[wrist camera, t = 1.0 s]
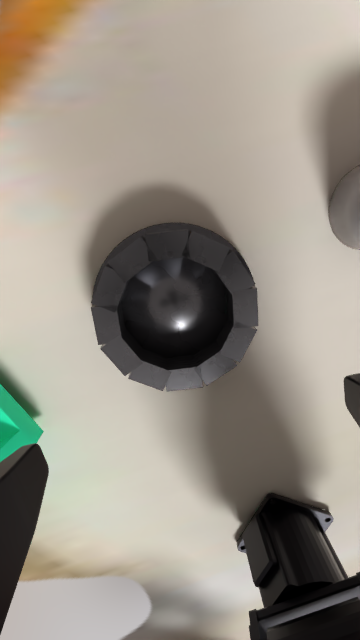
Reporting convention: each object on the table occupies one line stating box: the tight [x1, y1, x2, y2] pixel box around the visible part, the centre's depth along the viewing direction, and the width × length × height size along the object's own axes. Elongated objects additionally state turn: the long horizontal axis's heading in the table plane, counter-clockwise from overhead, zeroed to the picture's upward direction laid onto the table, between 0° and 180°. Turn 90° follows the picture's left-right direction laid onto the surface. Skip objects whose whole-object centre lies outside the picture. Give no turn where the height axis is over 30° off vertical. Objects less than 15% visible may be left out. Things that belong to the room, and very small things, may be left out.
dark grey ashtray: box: [91, 223, 258, 391], centre depth 20 cm, size 11×11×3 cm
